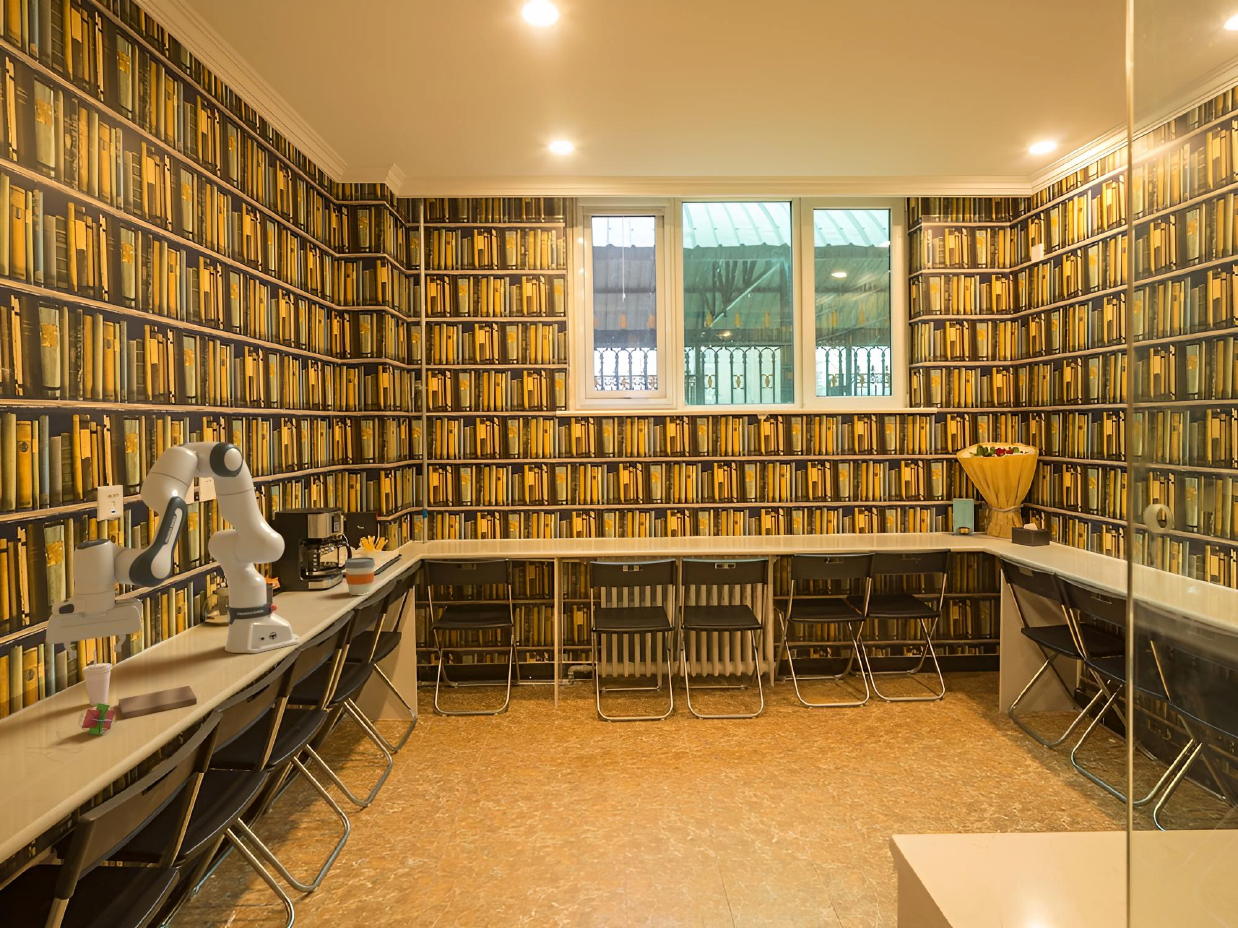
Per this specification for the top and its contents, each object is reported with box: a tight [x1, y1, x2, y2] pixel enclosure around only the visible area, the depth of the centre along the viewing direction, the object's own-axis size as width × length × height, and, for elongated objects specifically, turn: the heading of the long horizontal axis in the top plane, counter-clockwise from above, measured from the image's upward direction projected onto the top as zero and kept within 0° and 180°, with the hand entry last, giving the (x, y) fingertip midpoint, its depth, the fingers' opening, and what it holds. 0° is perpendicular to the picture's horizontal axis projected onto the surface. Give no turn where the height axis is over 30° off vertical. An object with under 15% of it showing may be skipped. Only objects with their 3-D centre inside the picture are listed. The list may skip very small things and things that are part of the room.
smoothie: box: [81, 649, 113, 707], centre depth 190 cm, size 6×6×14 cm
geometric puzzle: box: [77, 703, 118, 737], centre depth 172 cm, size 7×7×8 cm
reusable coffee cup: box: [344, 556, 376, 596], centre depth 319 cm, size 13×12×15 cm
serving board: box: [118, 685, 198, 720], centre depth 189 cm, size 16×12×2 cm
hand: (95, 654), depth 190 cm, fingers open, 8 cm apart
